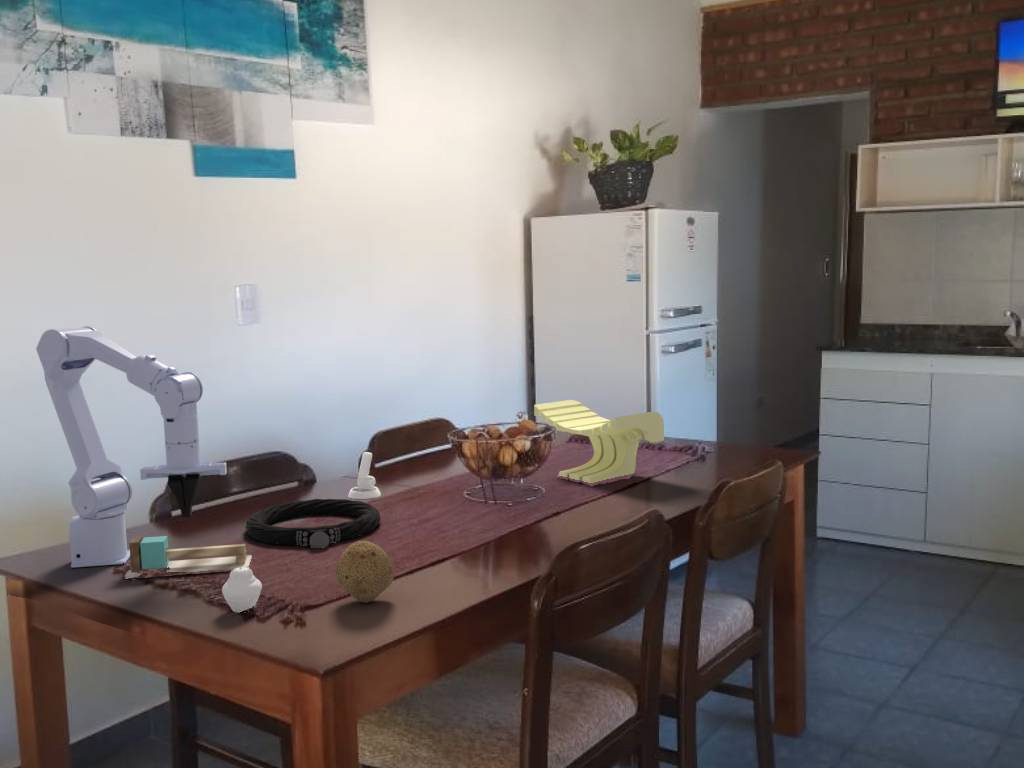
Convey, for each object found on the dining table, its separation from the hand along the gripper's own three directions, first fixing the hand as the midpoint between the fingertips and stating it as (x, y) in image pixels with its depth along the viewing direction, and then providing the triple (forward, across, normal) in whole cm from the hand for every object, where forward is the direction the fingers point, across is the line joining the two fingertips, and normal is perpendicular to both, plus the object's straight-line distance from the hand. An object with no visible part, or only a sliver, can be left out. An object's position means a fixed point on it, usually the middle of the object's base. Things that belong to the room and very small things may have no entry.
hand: (187, 515), depth 174 cm
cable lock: (+10, +22, +22) cm, 32 cm away
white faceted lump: (+10, +12, -24) cm, 29 cm away
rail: (+10, 0, 0) cm, 10 cm away
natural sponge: (+10, +30, -25) cm, 41 cm away
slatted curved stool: (+10, +90, +53) cm, 105 cm away
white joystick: (+10, +32, +50) cm, 60 cm away
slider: (+9, -6, 0) cm, 11 cm away
